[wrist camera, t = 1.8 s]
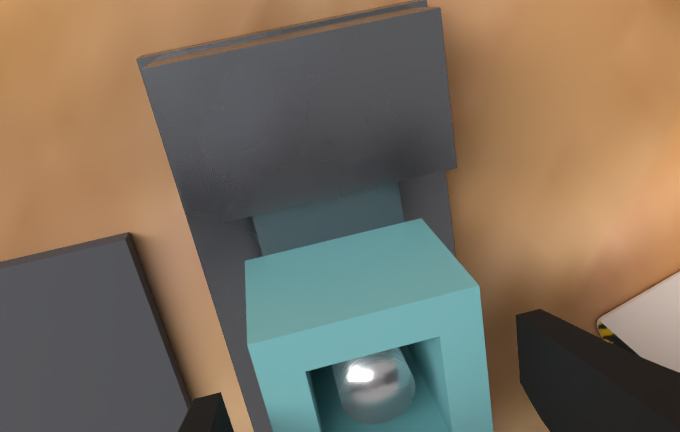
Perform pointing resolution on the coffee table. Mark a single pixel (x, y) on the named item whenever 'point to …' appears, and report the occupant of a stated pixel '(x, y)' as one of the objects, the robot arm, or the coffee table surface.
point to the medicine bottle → (648, 324)
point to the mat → (85, 344)
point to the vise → (308, 160)
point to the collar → (368, 329)
